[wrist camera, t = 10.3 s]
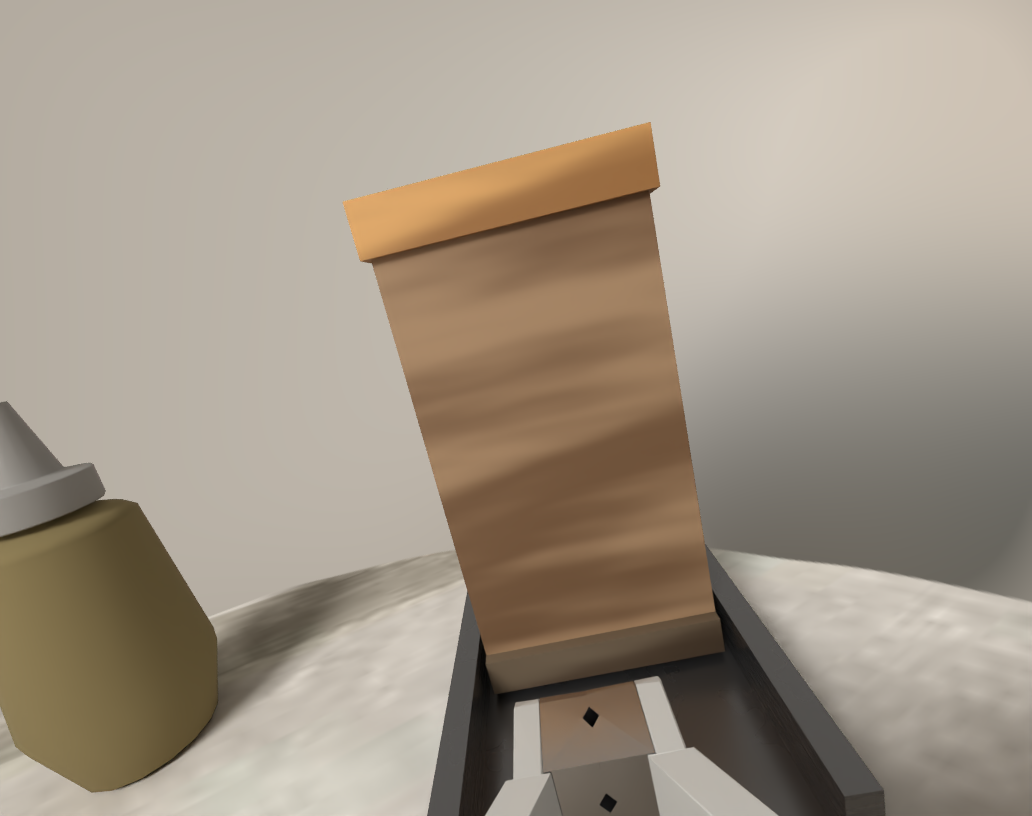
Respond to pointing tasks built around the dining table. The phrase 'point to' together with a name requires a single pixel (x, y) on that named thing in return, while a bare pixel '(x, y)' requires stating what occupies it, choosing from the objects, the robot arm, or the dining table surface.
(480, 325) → the walnut paddle
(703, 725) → the paddle track
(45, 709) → the squeeze bottle
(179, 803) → the dining table surface
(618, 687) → the robot arm
